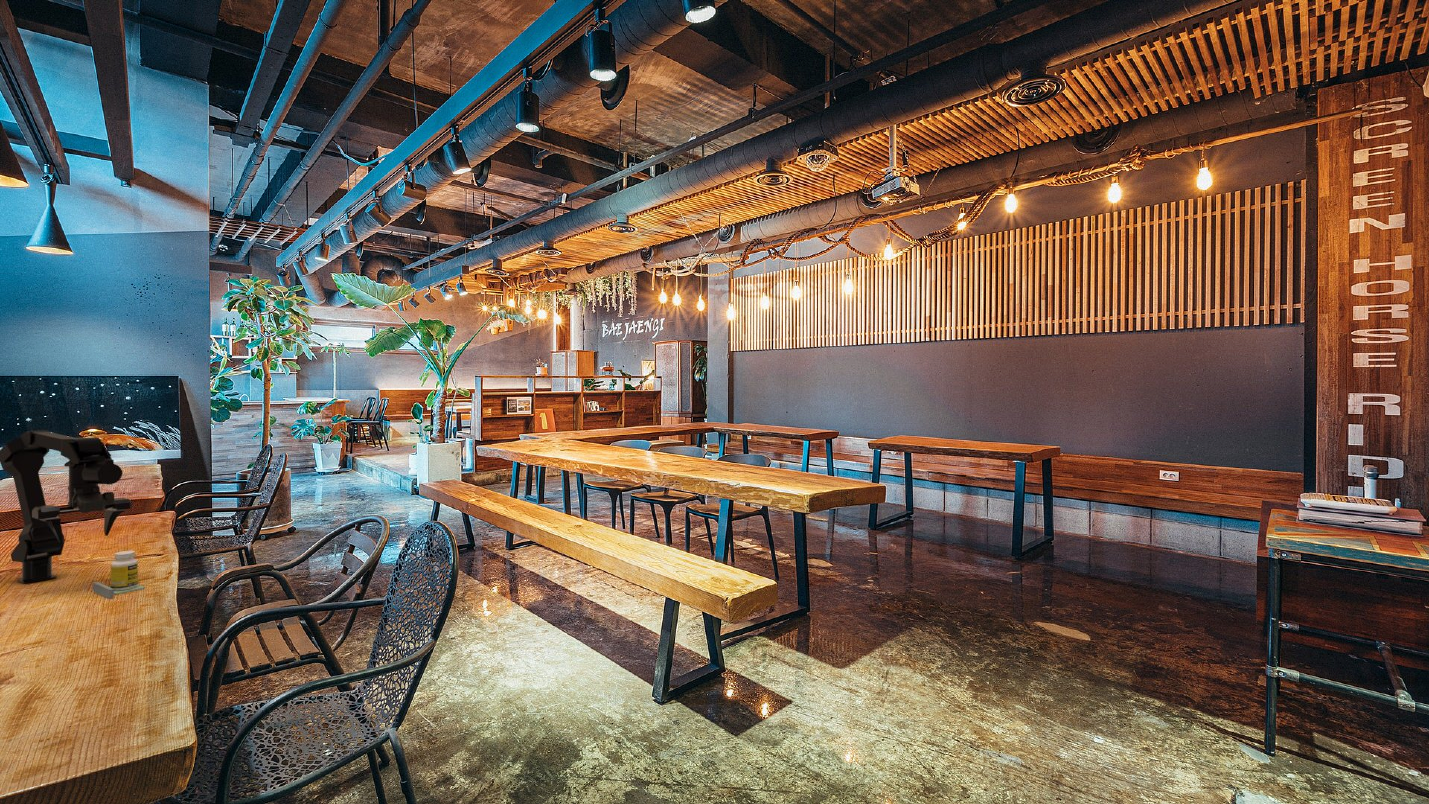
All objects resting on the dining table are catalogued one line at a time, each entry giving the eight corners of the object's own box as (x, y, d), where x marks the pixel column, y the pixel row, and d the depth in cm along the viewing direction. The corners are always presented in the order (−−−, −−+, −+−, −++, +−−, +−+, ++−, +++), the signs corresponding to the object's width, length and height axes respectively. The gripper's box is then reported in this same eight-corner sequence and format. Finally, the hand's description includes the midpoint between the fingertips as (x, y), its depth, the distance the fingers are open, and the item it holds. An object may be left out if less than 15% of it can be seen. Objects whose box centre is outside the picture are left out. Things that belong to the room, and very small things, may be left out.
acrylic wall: (92, 591, 167) (92, 582, 167) (96, 590, 167) (96, 581, 167) (109, 599, 161) (109, 589, 161) (113, 598, 161) (113, 589, 161)
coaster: (105, 590, 168) (105, 588, 168) (134, 584, 173) (134, 583, 173) (115, 594, 164) (115, 593, 164) (144, 588, 169) (144, 587, 169)
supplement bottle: (129, 590, 167) (130, 554, 167) (105, 591, 165) (105, 555, 165) (142, 584, 172) (142, 549, 172) (118, 585, 170) (118, 550, 170)
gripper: (45, 489, 159) (45, 549, 159) (139, 481, 175) (139, 535, 176) (31, 486, 165) (31, 544, 165) (123, 478, 181) (124, 531, 181)
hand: (83, 538), depth 171 cm, fingers open, 9 cm apart
